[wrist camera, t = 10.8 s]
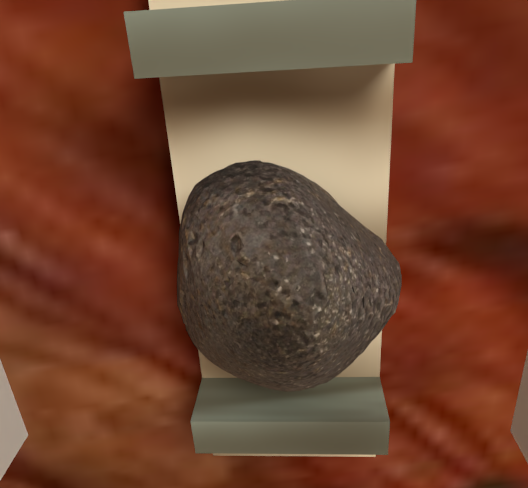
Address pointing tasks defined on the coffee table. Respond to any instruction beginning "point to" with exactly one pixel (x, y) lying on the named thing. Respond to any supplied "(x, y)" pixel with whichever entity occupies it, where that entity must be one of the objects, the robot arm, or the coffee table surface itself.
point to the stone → (280, 277)
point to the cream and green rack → (289, 156)
